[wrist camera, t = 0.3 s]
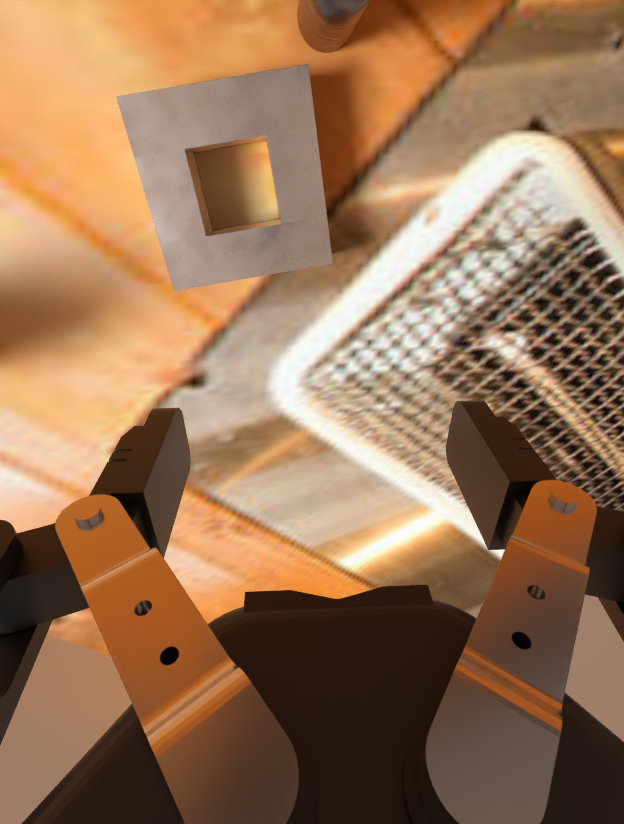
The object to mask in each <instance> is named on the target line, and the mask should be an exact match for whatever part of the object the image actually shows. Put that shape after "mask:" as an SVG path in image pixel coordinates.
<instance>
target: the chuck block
mask: <svg viewBox="0 0 624 824" xmlns="http://www.w3.org/2000/svg"><path fill="white" fill-rule="evenodd" d="M117 101H118V104H119V107H120V111H121V114H122V118H123V121H124V124H125V128H126V131H127V134H128V138H129V141H130V144H131V148H132V151H133V155H134V158H135V161H136V165H137V168H138V171H139V175H140V178H141V181H142V185H143V188H144V192H145V195H146V198H147V202H148V205H149V208H150V212H151V215H152V219H153V222H154V225H155V229H156V232H157V235H158V239H159V242H160V245H161V249H162V252H163V256H164V259H165V262H166V266H167V269H168V272H169V276H170V279H171V282H172V286H173V289H174V291H177V290H183V289H188V288H194V287H200V286H206V285H211V284H217V283H223V282H229V281H235V280H240V279H246V278H252V277H258V276H263V275H269V274H275V273H281V272H286V271H292V270H298V269H304V268H310V267H315V266H321V265H327V264H333V261H332V252H331V244H330V236H329V228H328V220H327V212H326V204H325V196H324V188H323V180H322V171H321V163H320V155H319V147H318V139H317V131H316V123H315V115H314V107H313V99H312V91H311V82H310V74H309V66H308V64H305V65H299V66H294V67H288V68H282V69H276V70H270V71H264V72H258V73H252V74H247V75H241V76H235V77H229V78H223V79H217V80H211V81H205V82H200V83H194V84H188V85H182V86H176V87H170V88H164V89H158V90H152V91H147V92H141V93H135V94H129V95H123V96H117ZM262 140H266V141H267V147H268V153H269V158H270V164H271V170H272V176H273V182H274V188H275V194H276V199H277V205H278V211H279V217H280V219H277V220H271V221H266V222H260V223H254V224H248V225H242V226H237V227H231V228H225V229H219V230H213V231H212V227H211V223H210V219H209V215H208V210H207V206H206V202H205V198H204V194H203V190H202V185H201V181H200V177H199V173H198V169H197V165H196V161H195V156H194V152H198V151H204V150H210V149H216V148H221V147H227V146H233V145H239V144H245V143H251V142H256V141H262Z"/></svg>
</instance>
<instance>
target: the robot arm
mask: <svg viewBox="0 0 624 824" xmlns="http://www.w3.org/2000/svg"><path fill="white" fill-rule="evenodd" d="M446 455H447V461H448V464H449V466H450V468H451V471H452V473H453V475H454V477H455V479H456V481H457V483H458V486H459V488H460V490H461V492H462V494H463V496H464V498H465V501H466V503H467V505H468V507H469V509H470V511H471V513H472V516H473V518H474V520H475V522H476V524H477V526H478V529H479V531H480V533H481V535H482V537H483V539H484V541H485V544H486V546H487V548H488V550H499V549H505V551H504V554H503V556H502V559H501V561H500V563H499V566H498V568H497V571H496V573H495V575H494V578H493V580H492V583H491V585H490V588H489V590H488V592H487V595H486V597H485V600H484V602H483V604H482V607H481V609H480V612H479V614H478V617H477V619H476V618H475V617H473V616H472V615H470V614H468V613H467V612H465V611H463V610H461V609H459V608H457V607H454V606H452V605H450V604H447V603H443V602H440V601H436V600H432V597H431V594H430V590H429V587H428V585H410V586H385V587H380V588H377V589H373V590H370V591H366V592H363V593H359V594H356V595H352V596H349V597H345V598H341V599H333V598H328V597H323V596H318V595H313V594H307V593H302V592H297V591H292V590H283V591H257V592H245V601H244V607H241V608H238V609H235V610H233V611H230V612H228V613H226V614H224V615H222V616H220V617H218V618H216V619H215V620H213V621H212V622H210V623H209V624H207V623H206V621H205V620H204V618H203V617H202V615H201V614H200V612H199V611H198V609H197V608H196V606H195V605H194V603H193V602H192V600H191V599H190V597H189V596H188V594H187V593H186V591H185V590H184V588H183V587H182V585H181V584H180V582H179V581H178V579H177V578H176V576H175V575H174V573H173V572H172V570H171V569H170V567H169V566H168V564H167V563H166V561H165V560H164V555H165V552H166V549H167V545H168V542H169V538H170V535H171V532H172V528H173V525H174V521H175V518H176V515H177V511H178V508H179V504H180V501H181V498H182V494H183V491H184V487H185V484H186V481H187V477H188V474H189V470H190V449H189V444H188V439H187V434H186V429H185V424H184V419H183V414H182V411H181V409H180V408H155V409H152V410H151V412H150V414H149V416H148V418H147V420H146V422H145V425H144V426H134V427H133V428H132V429H130V430H129V431H128V432H127V433H126V434H124V435H123V436H122V437H121V439H120V440H119V442H118V444H117V446H116V448H115V452H113V453H112V455H111V457H110V459H109V462H107V464H106V466H105V468H104V470H103V472H102V473H101V475H100V477H99V479H98V481H97V483H96V484H95V486H94V488H93V490H92V492H91V494H90V495H89V496H88V497H85V498H82V499H79V500H77V501H75V502H74V503H72V504H70V505H69V506H68V507H66V508H65V509H64V510H63V511H62V512H61V513H60V515H59V516H58V518H57V520H56V523H54V524H51V525H47V526H44V527H40V528H36V529H32V530H28V531H25V532H21V533H16V531H15V529H14V527H13V526H12V525H11V524H10V523H9V522H7V521H4V520H0V745H1V742H2V740H3V737H4V735H5V733H6V730H7V728H8V725H9V723H10V721H11V718H12V716H13V713H14V711H15V709H16V706H17V704H18V701H19V699H20V697H21V694H22V692H23V689H24V687H25V685H26V682H27V680H28V677H29V675H30V673H31V670H32V668H33V666H34V663H35V661H36V658H37V656H38V653H39V651H40V649H41V646H42V644H43V642H44V639H45V637H46V634H47V632H48V630H49V627H50V625H51V622H52V620H53V619H56V618H59V617H62V616H65V615H68V614H72V613H75V612H78V611H81V610H84V609H87V608H90V610H91V612H92V614H93V616H94V619H95V621H96V623H97V625H98V628H99V630H100V632H101V634H102V637H103V639H104V641H105V643H106V646H107V648H108V650H109V653H110V655H111V657H112V659H113V662H114V664H115V666H116V668H117V671H118V673H119V675H120V677H121V680H122V682H123V684H124V686H125V689H126V691H127V693H128V695H129V698H130V700H131V702H132V704H131V705H130V706H129V707H128V709H127V710H126V711H125V712H124V713H123V714H122V715H121V716H120V717H119V718H118V719H117V720H116V722H115V723H114V724H113V725H112V726H111V727H110V728H109V729H108V730H107V731H106V732H105V734H104V735H103V736H102V737H101V738H100V739H99V740H98V741H97V742H96V743H95V744H94V746H93V747H92V748H91V749H90V750H89V751H88V752H87V753H86V754H85V755H84V756H83V758H82V759H81V760H80V761H79V762H78V763H77V764H76V765H75V766H74V767H73V768H72V770H71V771H70V772H69V773H68V774H67V775H66V776H65V777H64V778H63V779H62V780H61V782H60V783H59V784H58V785H57V786H56V787H55V788H54V789H53V790H52V791H51V792H50V794H49V795H48V796H47V797H46V798H45V799H44V800H43V801H42V802H41V803H40V804H39V805H38V807H37V808H36V809H35V810H34V811H33V812H32V813H31V814H30V815H29V816H28V817H27V819H26V820H25V821H24V822H23V823H22V824H624V742H623V741H622V740H621V739H619V738H618V737H617V736H616V735H615V734H613V733H612V732H611V731H610V730H609V729H608V728H606V727H605V726H604V725H603V724H602V723H600V722H599V721H598V720H597V719H596V718H595V717H593V716H592V715H591V714H590V713H589V712H587V711H586V710H585V709H584V708H583V707H581V706H580V705H579V704H578V703H577V702H575V701H574V700H573V699H572V698H571V697H570V696H568V695H567V694H566V693H565V688H566V684H567V678H568V674H569V669H570V664H571V660H572V655H573V650H574V645H575V640H576V635H577V631H578V626H579V621H580V616H581V611H582V606H583V601H584V596H585V594H586V595H590V596H595V597H598V598H599V600H600V602H601V604H602V605H603V607H604V609H605V610H606V612H607V614H608V616H609V617H610V619H611V621H612V622H613V624H614V626H615V628H616V629H617V631H618V633H619V634H620V636H621V638H622V640H623V641H624V512H622V511H617V510H612V509H607V508H602V507H597V506H596V504H595V502H594V501H593V499H592V498H591V497H590V496H589V495H588V494H587V493H586V492H584V491H583V490H581V489H580V488H578V487H576V486H574V485H571V484H569V483H566V482H562V481H557V479H556V478H555V477H554V475H553V474H552V473H551V471H550V470H549V469H548V468H547V466H546V465H545V464H544V462H543V461H542V460H541V458H540V457H539V456H538V454H537V453H536V452H535V450H533V449H532V446H531V445H530V444H529V442H528V441H527V440H525V437H524V436H523V434H522V433H521V432H520V430H519V429H518V428H517V426H515V425H514V424H512V423H511V422H509V421H508V420H506V419H505V418H503V417H496V416H495V415H494V414H493V412H492V411H491V409H490V408H489V406H488V405H487V404H486V402H485V401H483V400H480V401H457V402H456V403H455V405H454V408H453V413H452V418H451V423H450V428H449V434H448V439H447V444H446Z"/></svg>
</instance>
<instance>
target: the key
mask: <svg viewBox="0 0 624 824" xmlns="http://www.w3.org/2000/svg"><path fill="white" fill-rule="evenodd" d="M369 2H370V0H299V6H298V25H299V29H300V32H301V34H302V36H303V38H304V40H305V41H306V43H307V44H308V45H309V46H310V47H312V48H313V49H315V50H316V51H319V52H323V53H329V52H333V51H336V50H338V49H339V48H341V47H342V46H343V45H344V44H345V43H346V41H347V40H348V38H349V37H350V35H351V33H352V31H353V30H354V28H355V26H356V25H357V23H358V21H359V19H360V18H361V16H362V14H363V12H364V11H365V9H366V7H367V5H368V4H369Z"/></svg>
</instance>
